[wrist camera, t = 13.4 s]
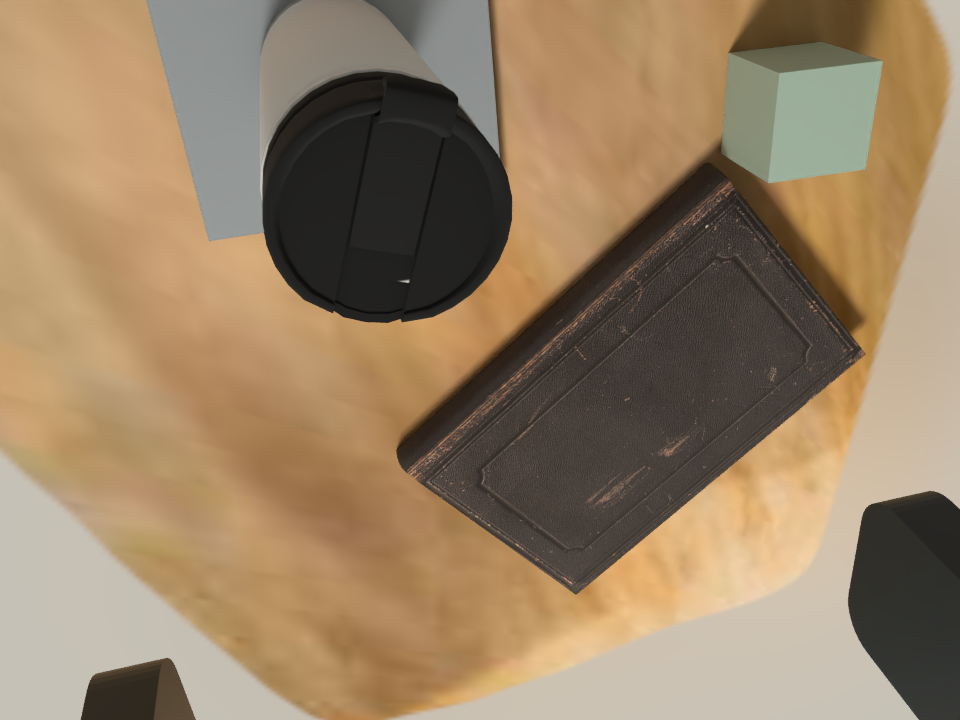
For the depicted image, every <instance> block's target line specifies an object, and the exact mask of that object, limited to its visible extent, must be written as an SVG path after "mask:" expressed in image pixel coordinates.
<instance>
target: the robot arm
mask: <svg viewBox="0 0 960 720" xmlns="http://www.w3.org/2000/svg"><path fill="white" fill-rule="evenodd" d="M848 606H849V613H850V617H851V621H852V624H853V627H854V630H855V632H856V634H857V636H858V638H859V640H860V642H861V644H862V646H863V647H864V648H865V650H866V651H867V653H868V654H869V655H870V657H871V658H872V659H873V661H874V662H875V663H876V665H877V666H878V667H879V668H880V670H881V671H882V672H883V674H884V675H885V676H886V678H887V679H888V680H889V681H890V683H891V684H892V685H893V687H894V688H895V689H896V690H897V692H898V693H899V694H900V696H901V697H902V698H903V700H904V701H905V702H906V704H907V705H908V706H909V707H910V709H911V710H912V711H913V713H914V714H915V715H916V717H917V718H918V719H919V720H960V509H959V508H958V507H957V506H956V505H955V504H954V503H952V502H951V501H950V500H949V499H948V498H946V497H945V496H944V495H942V494H940V493H937V492H934V491H928V492H923V493H919V494H914V495H910V496H905V497H901V498H896V499H892V500H888V501H883V502H878V503H874V504H871V505H869V506H868V507H867V508H866V509H865V511H864V513H863V516H862V521H861V526H860V532H859V538H858V544H857V550H856V555H855V561H854V566H853V572H852V578H851V583H850V589H849V597H848ZM81 720H196V719H195V717H194V714H193V711H192V709H191V706H190V704H189V701H188V698H187V696H186V693H185V691H184V688H183V685H182V683H181V680H180V677H179V675H178V672H177V670H176V668H175V665H174V663H173V662H172V661H171V659H169V658H165V659H160V660H156V661H151V662H147V663H142V664H138V665H133V666H129V667H124V668H120V669H115V670H111V671H106V672H102V673H97V674H95V675H94V676H93V677H92V678H91V680H90V683H89V685H88V689H87V693H86V697H85V703H84V707H83V712H82V716H81Z"/></svg>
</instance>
